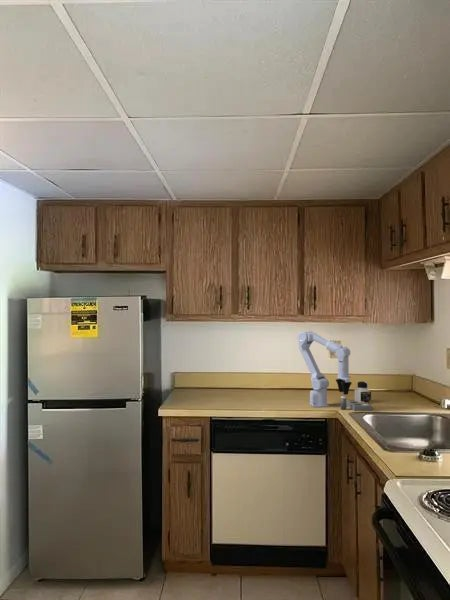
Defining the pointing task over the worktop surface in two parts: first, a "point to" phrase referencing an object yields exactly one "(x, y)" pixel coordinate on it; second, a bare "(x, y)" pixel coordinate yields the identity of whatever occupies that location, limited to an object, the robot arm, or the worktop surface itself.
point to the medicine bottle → (363, 392)
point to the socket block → (358, 405)
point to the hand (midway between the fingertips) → (343, 393)
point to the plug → (343, 403)
